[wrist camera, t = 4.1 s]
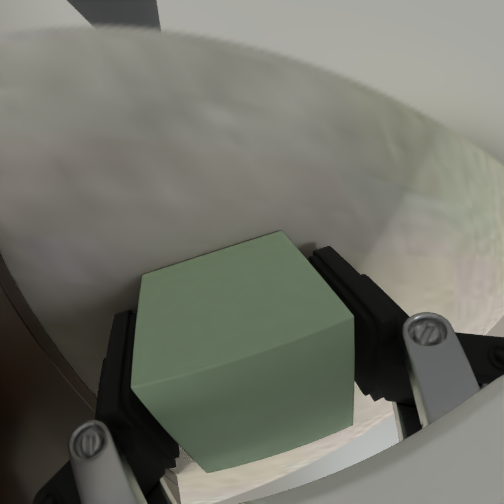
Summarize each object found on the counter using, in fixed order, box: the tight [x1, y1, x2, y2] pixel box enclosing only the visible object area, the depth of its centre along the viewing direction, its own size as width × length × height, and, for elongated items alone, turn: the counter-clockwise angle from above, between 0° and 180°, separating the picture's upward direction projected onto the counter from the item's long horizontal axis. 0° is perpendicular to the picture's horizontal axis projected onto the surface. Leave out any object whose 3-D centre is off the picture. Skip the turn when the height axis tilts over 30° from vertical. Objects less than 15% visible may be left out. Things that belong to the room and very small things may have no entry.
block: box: [131, 231, 355, 473], centre depth 8 cm, size 4×4×4 cm
